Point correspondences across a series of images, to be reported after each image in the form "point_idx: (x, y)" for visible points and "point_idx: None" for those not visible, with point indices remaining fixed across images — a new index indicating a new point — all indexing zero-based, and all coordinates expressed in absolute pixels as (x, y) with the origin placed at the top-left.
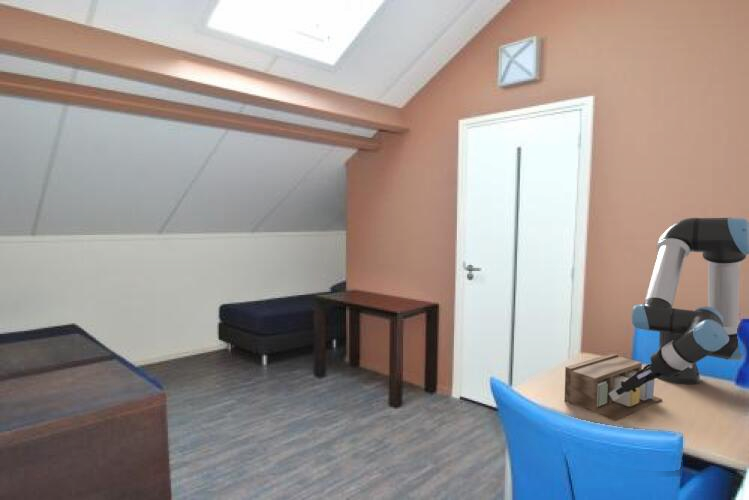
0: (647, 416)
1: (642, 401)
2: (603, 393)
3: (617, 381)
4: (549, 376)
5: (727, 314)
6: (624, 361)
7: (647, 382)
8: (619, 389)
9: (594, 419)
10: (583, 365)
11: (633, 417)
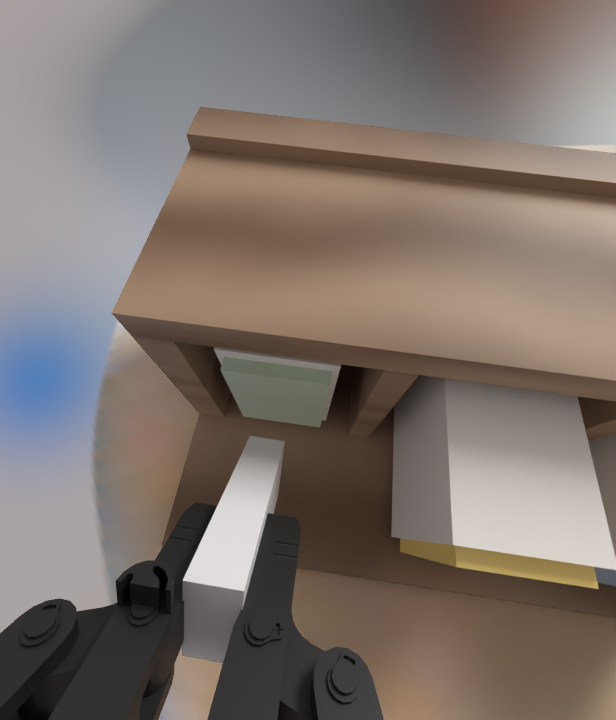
0: (381, 672)
1: None
2: (276, 400)
3: (441, 418)
4: None
5: None
6: None
7: None
8: (164, 548)
9: (116, 454)
10: (354, 158)
11: (295, 605)
